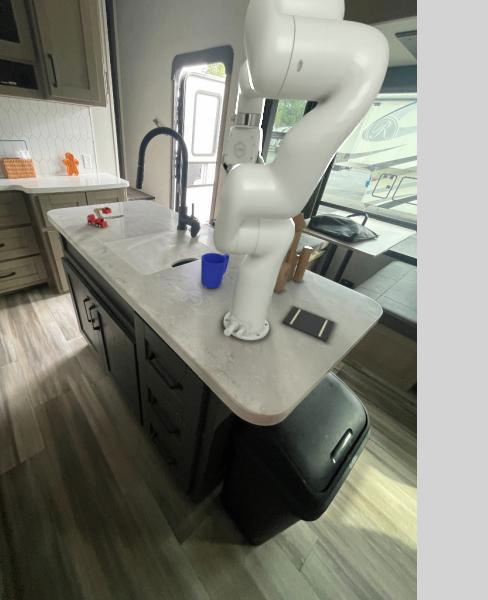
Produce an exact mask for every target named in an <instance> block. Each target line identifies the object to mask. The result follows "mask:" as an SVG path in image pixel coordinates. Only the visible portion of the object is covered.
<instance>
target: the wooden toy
mask: <svg viewBox="0 0 488 600" xmlns="http://www.w3.org/2000/svg"><path fill="white" fill-rule="evenodd" d="M292 220H293V223H294V226H295V234H294V238H293V241H292V244H291V246H290V248H289V250H288V252H287V254H286V256H285V258H284V260H283V262H282V265H281V268H280V271H279V274H278V277H277V281H276V284H275V287H274V291H273V292H276V293H280V292H283V291H284V290H285V287H286V284H287V281H289V280H291V279H292V280H293V281H294V282H296V283H301V282H302V281H303V278H304V276H305V273H306V269H307V266H308V264H309V260H310V259H311V255H312V252H313V248H312V247H311V246H308V245H307V246H305V245H304V246H302V248H301V252H300V254H297V249H298V246H299V242H300V240H301V237H302V235H303V234H302V233H303V230H307V229H308V226H307V223H306V220H305V216H304V213H303V212H302V211H301V212H300V213H299V214H298V215H297V216H295V217H294V218H292Z"/></svg>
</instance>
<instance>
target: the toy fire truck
mask: <svg viewBox="0 0 488 600" xmlns="http://www.w3.org/2000/svg"><path fill="white" fill-rule="evenodd" d="M101 212H102V214H104V215H109V214H112V209H111V208H110V207H108V206H104V207H96V208H94V209H93V213H91V214H88V215H86V220H87V224H89V225H90V226H91V225H93V226H96V227H99V228H105V227H106V226H107V227H108V222H107V221H106V220H105V217H104V216H102V214H101ZM96 216H97V218H96Z"/></svg>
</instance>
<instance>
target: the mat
mask: <svg viewBox="0 0 488 600" xmlns="http://www.w3.org/2000/svg"><path fill="white" fill-rule="evenodd" d="M282 324H283V325H286V326H289V327H290V328H293V329H294V330H298V331H300V332H302V333H305V334H307V335H309V336H312V337H314V338H316V339H318V340H320V341H323V342H327V340H328V338H329V336H330V334H331V331H332V329H333V326H334V324H335V321H333V320H330V319H327V318H324V317H322V316H319V315H317V314H314V313H312V312H309V311H307V310H305V309H302V308H300V307H297V306H293V308H292V309H291V310H290V312H289V313H288V314H287V316H286V318H285V319H284V320H283V322H282Z"/></svg>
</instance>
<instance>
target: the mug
mask: <svg viewBox="0 0 488 600" xmlns="http://www.w3.org/2000/svg"><path fill="white" fill-rule="evenodd" d="M200 259H201V262H200V263H201V264H200V265H201V266H200V267H201V268H200V275H201V276H200V282H201V284H202V286H203V287H204V288H206V289H217V288H219V287H221V285H222V282H223V278H224V275H225V273H226V271H227V269H228V265H229V261H230V254H225V253H223V254H222V253H221V254H220V253H217V252H207V253H203V255H201V258H200Z"/></svg>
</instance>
